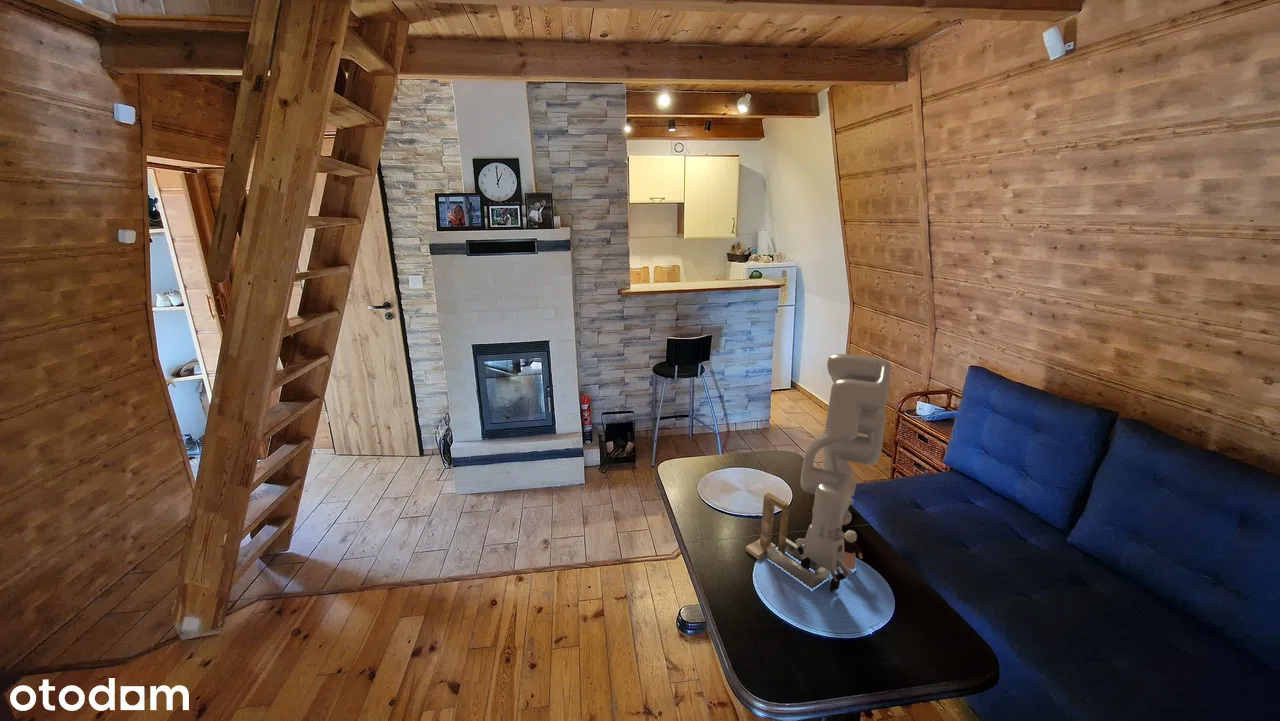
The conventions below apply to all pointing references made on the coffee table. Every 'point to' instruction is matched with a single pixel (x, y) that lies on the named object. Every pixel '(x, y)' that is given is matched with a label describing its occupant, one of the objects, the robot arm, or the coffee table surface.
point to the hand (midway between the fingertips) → (819, 579)
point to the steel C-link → (797, 565)
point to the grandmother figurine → (851, 549)
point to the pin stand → (770, 527)
